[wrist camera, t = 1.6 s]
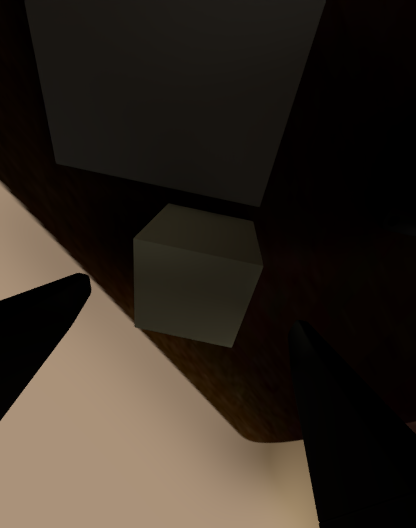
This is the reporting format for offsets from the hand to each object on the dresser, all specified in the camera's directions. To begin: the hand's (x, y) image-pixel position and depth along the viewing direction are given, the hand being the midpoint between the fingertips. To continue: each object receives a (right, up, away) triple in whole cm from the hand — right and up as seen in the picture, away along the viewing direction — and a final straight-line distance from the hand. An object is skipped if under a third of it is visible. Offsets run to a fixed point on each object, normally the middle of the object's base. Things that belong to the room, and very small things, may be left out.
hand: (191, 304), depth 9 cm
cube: (0, +3, +5) cm, 5 cm away
